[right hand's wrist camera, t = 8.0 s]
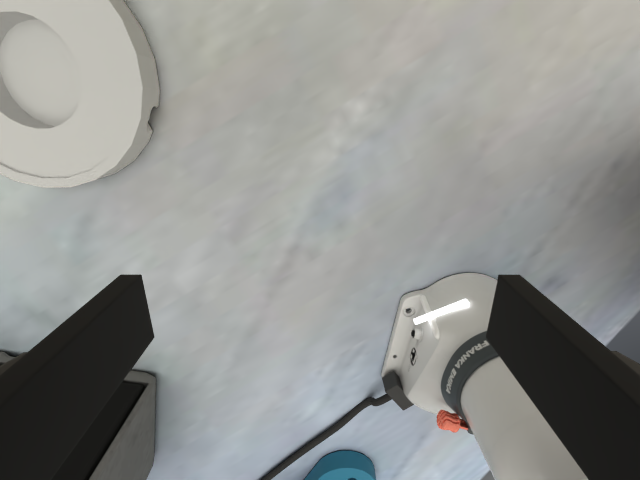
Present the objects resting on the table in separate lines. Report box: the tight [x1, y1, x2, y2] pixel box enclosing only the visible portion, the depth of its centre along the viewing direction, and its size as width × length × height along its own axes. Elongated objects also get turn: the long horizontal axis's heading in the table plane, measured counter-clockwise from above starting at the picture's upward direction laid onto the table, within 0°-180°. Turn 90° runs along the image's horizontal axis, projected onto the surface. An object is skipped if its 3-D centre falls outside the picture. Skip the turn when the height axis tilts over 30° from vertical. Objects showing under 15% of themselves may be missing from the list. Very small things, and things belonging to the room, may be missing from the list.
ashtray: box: [0, 0, 160, 188], centre depth 36 cm, size 23×23×4 cm
